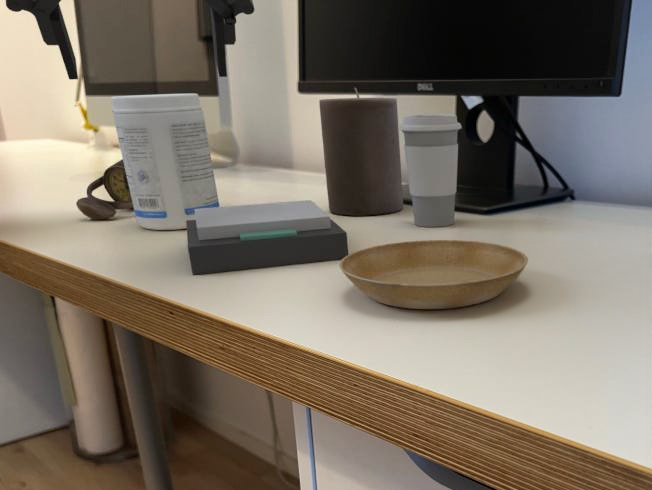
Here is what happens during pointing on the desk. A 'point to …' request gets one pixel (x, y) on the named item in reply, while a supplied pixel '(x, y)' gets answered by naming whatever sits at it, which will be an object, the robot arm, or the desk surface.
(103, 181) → the antique desk clock
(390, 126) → the pillar candle
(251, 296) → the desk surface
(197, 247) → the scale
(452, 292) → the plant saucer
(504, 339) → the desk surface
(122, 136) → the supplement tub
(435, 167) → the cup
